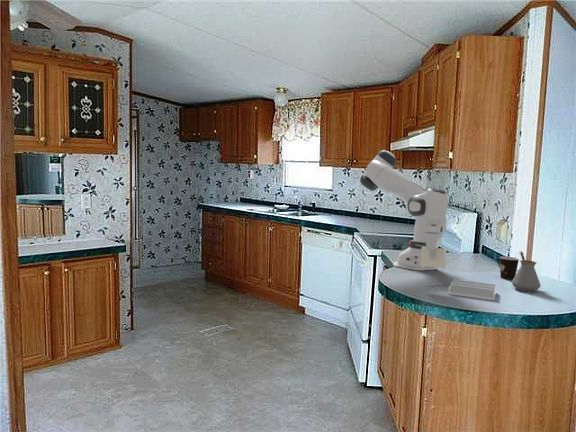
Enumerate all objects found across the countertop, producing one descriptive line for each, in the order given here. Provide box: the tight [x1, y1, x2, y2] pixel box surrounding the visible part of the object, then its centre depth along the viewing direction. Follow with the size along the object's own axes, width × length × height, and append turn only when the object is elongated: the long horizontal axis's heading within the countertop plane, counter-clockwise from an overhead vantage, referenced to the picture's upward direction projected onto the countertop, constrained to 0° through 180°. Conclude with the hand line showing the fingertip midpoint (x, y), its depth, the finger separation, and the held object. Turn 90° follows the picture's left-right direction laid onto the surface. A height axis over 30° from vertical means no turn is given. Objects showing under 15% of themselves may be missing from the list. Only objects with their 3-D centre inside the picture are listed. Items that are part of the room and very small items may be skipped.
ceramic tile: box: [421, 247, 447, 269], centre depth 204 cm, size 10×2×8 cm, turn 65°
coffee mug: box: [496, 256, 520, 281], centre depth 233 cm, size 12×9×10 cm
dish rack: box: [447, 278, 497, 301], centre depth 200 cm, size 18×13×4 cm
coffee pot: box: [511, 250, 542, 293], centre depth 214 cm, size 21×12×15 cm, turn 164°
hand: (433, 258), depth 204 cm, fingers closed on ceramic tile, 2 cm apart
